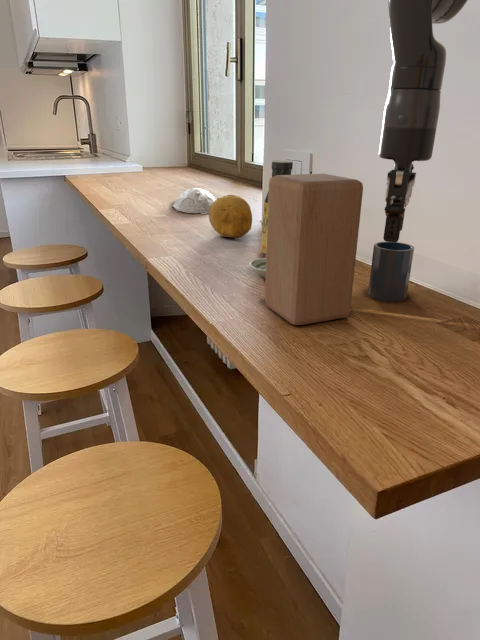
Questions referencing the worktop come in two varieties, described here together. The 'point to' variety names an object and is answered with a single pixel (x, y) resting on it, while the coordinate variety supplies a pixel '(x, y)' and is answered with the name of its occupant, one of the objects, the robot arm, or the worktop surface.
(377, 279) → the cup
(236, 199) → the potato
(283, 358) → the worktop surface
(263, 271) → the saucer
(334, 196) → the block
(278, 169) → the sauce bottle
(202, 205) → the white lumpy mound
